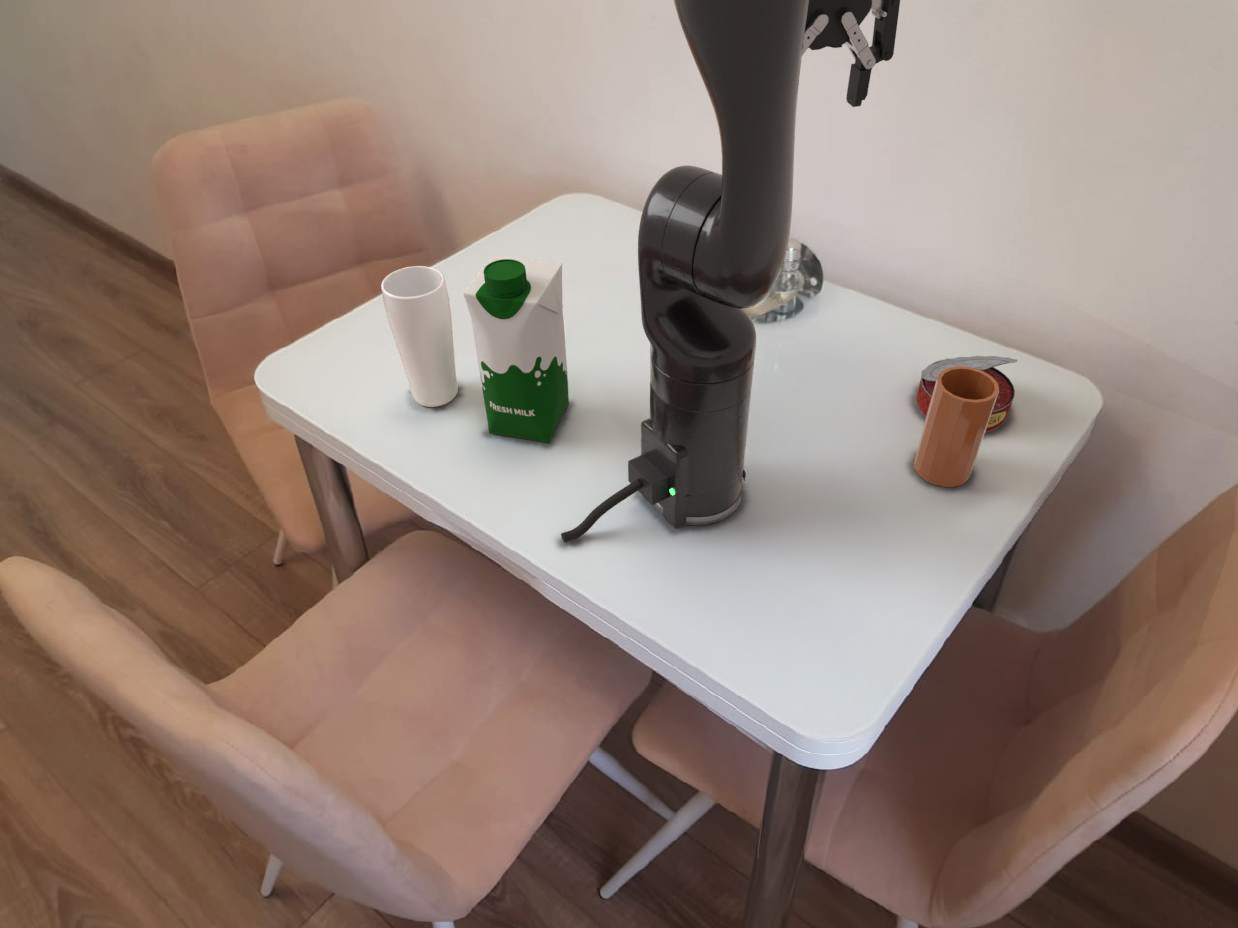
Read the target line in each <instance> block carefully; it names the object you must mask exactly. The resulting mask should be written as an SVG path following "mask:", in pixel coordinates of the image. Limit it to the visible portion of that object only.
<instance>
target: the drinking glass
mask: <svg viewBox="0 0 1238 928" xmlns="http://www.w3.org/2000/svg"><path fill="white" fill-rule="evenodd" d="M380 288H381V289H380V290H381V293H382V299H383V301H382V302H383V306H384V309H385V314H386V319H387V321H388V325H389V328H390V331H391V334H392V337H393V341H394V343H395V346H396V348H397V351H398V354H399V357H400V361H401V363H402V364H401V365H402V366H403V367H402V368H403V370H404V373H405V375H406V379H407V382H408V385H409V386H408V387H409V391H410V394H411V397H412V399H413V401H414V402H416V404H418V405H420V406H422V407H428V408H434V407H441V406H444V405H447V404H449V403H450V402H452V401H453V400H454V399H455V398H456V396H457V394H458V391H459V385H458V379H457V370H456V360H455V359H456V358H455V347H454V346H455V345H454V332H453V331H454V330H453V319H452V309H451V302H450V295H449V291H448V287H447V283H446V278H445V275H444V274H443V273H442V272H441V271H440V270H439V269H437V268H434V267H431V266H425V265H413V266H412V265H411V266H407V267H402V268H399V269H396V270H394V271H392V272H390V273H389V274H387V275H386V276H385V277H384V278H383V280H382V282H381V284H380Z"/></svg>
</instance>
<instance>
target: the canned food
mask: <svg viewBox="0 0 1238 928" xmlns="http://www.w3.org/2000/svg"><path fill="white" fill-rule="evenodd" d="M1017 362H1018V358H1017V359H1016V358H1011V357H1008V356H1007V357H1004V356H999V355H998V356H997V355H972V356H958V357H954V358H946V359H941V360H937V361H934V362H932V363H931V364H929V365H927V366H926V367H925V368H924V369H922V370H921V375H920V381H919V385H918V389H917V392H916V396H915V403H916V406H917V409H918V411H919V412H920V413H921V415H922V416H923V417H924V418H926V416H927V412H928V409H929V405H930V402H931V398H932V394H933V391H934V387H935V384H936V380H937V377H938V375H939V374H940V372H941V371H943V370H945V369H947V368H950V367H958V366H963V367H971V368H975V369H978V370H981V371H984V372H985V373H987V374H989V375H990V376H992V377H993V378H994V379H995V381H996V382H997V383H998V386H999V393H998V396H997V399H996V402H995V405H994V408H993V411H992V414H991V417H990V420H989V422H988V425H987V428H986V431H985V434H986V433H990V432H993V431H995V430H997V429H999V428H1000V427H1002V426H1003V425H1004V424H1005V422H1006V420H1007V419H1008V415H1009V412H1010V409H1011V406H1012V404H1013V401H1014V399H1015V395H1016V390H1015V387H1014V384H1013V382H1012V380H1011V379H1010V378H1009V377H1008V376H1007V375H1006V374H1004V372H1002V371H1000V370H999V369H998V368H996V367H999V366H1003V365H1008V364H1014V363H1017Z"/></svg>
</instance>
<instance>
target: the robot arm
mask: <svg viewBox="0 0 1238 928" xmlns="http://www.w3.org/2000/svg"><path fill="white" fill-rule="evenodd" d="M673 3H674V7H675V11H676V14H677V18H678V21H679V24H680V27H681V29H682V32H683V35H684V38H685V40H686V43H687V46H688V48H689V50H690V53H691V55H692V57H693V60H694V62H695V65H696V67H697V69H698V72H699V75H700V77H701V80H702V82H703V84H704V87H705V90H706V92H707V95H708V97H709V100H710V103H711V105H712V108H713V111H714V115H715V119H716V123H717V127H718V133H719V138H720V148H721V149H720V150H721V173H718V172H715V171H712V170H709V169H706V168H703V167H700V166H695V165H689V164H686V165H679V166H676V167H673V168H671V169H670V170H668V171H667V172H665V173H664V174H662V175H661V176H660V177H659V179H658V180H657V181H656V182H655V183H654V185H653V187H652V188H651V190H650V191H649V194H648V196H647V198H646V200H645V202H644V206H643V209H642V212H641V216H640V221H639V227H638V228H639V229H638V235H637V267H638V280H639V281H638V283H639V295H640V296H639V297H640V315H641V325H642V329H643V332H644V334H645V336H646V338H647V340H648V342H649V355H650V356H649V359H650V360H649V361H650V362H649V364H650V365H649V368H650V369H649V373H650V374H649V418H647V419H644V420H642V421H641V423H640V455H638V456H636V457H633V458H631V459H629V460H627V474H628V475H627V478H628V479H627V480H628V482H629V484H627V485H626V486H624V487H623V488H621V489H619V490H618V491H616V492H615V493H614V494H612V495H611V496H609V497H607V498H606V499H605V500H604V501H603V502H601V503H599V504H598V505H597V506H596V507H595V508H594V509H592V510H591V512H590V513H589V514H588V515H587V516H586V517H585V518H584V520H582V522H581V523H580V524H578V525H577V526H576V527H574V528H573V529H570V530H567V531H564V532H561V533H560V537H561V540H562V542H563V543H568V542H572V541H574V540H576V539H579V538H580V537H582V536H583V535H584V534H586V533H587V532H588V531H589V530H590V529H591V528H592V527H593V526H594V525H595V523H596V522H597V521H598V520H599V519H600V518H601V517H602V516H604V515H605V514H606V513H608V511H610V510H611V509H613V508H614V507H615V506H617V505H618V504H620V503H621V502H623V501H624V500H626V499H627V498H629V497H630V496H632V495H633V494H635V493H637V492H638V493H639V494H641V496H642V497H643V498H644V499H645V500H646V501H647V502H648V503H649V504H650V505H651V506H653V508H654V509H655V510H656V511H657V512H658V513H659V514H660V515H661V516H663V517H664V518H665V520H666V521H667V522H668V523H669V524H670V525H671V526H672V527H673V528H675V529H678V528H681V527H683V526H686V525H687V526H688V525H689V526H707V525H711V524H715V523H719V522H721V521H723V520H725V519H727V518H729V516H732V515H733V513H735V511H736V510H737V509H738V508H739V507H740V504H741V501H742V496H743V480H744V482H746V477H747V473H746V471H745V469H744V466H745V456H746V447H747V438H748V437H747V436H748V426H749V417H750V409H751V398H752V389H753V388H752V387H753V381H754V380H753V378H754V368H755V360H756V359H755V358H756V350H757V349H756V348H757V331H756V326H755V325H754V322H753V320H752V319H751V318H750V316H749V315H748V314H747V313H746V311H745V310H744V309H749V308H753V307H755V306H757V305H758V304H759V303H761V302H762V301H763V300H764V299H765V298H766V297H767V296H768V295H769V294H770V292H771V291H772V290H773V288H774V286H775V285H776V282H777V280H778V278H779V276H780V275H781V272H782V268H783V267H784V262H785V260H786V255H787V252H788V248H789V247H788V246H789V242H790V234H791V225H792V216H793V215H792V214H793V200H794V199H793V198H794V197H793V196H794V171H795V169H794V168H795V143H796V141H795V140H796V121H797V107H798V94H799V86H800V85H799V83H800V75H801V67H802V66H801V65H802V58H803V55H804V54H805V52H807V50H808V49H810V50H811V51H818V50H819V51H820V50H822V49H824V48H828V47H829V48H832V49H837V48H838V49H839V48H843V45H844V44H845V46H846V47H847V48H848V51H849V52H850V53H851V55H852V57H853V59H854V63H851V64H850V69H849V70H850V71H849V77H848V84H847V91H846V103H848V104H849V105H850V106H851V107H852V108H856V107H857V108H858V107H861V106H862V102H863V101H865V100H866V98H867V96H868V95H869V94H868V93H869V87H870V81H871V74H872V70H873V68H874V67H875V65H876V64H879V63H880V62H882V61H885V62H888V61H890V60H892V58H893V57H894V54H895V45H896V38H897V31H898V30H897V29H898V20H899V13H900V5H901V0H673ZM870 12H871V14H872V16H873V17H874V24H873V33H872V42H871V46H869V42H868V40H867V39H866V36H865V35H864V33H863V31H862V29H861V27H860V25H861V24H862V23H863V21H865V19H866V18H867V16H868V15H869V13H870Z"/></svg>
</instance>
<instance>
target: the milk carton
mask: <svg viewBox="0 0 1238 928" xmlns="http://www.w3.org/2000/svg"><path fill="white" fill-rule="evenodd" d="M463 297H464V300H465V303H466V306H467V309H468V310H467V311H468V313H469V316H470V321H471V325H472V332H473V338H474V343H475V344H474V345H475V351H476V358H477V364H478V370H479V371H478V372H479V376H480V382H481V383H480V384H481V390H482V396H483V397H482V398H483V403H484V408H485V414H486V419H487V426H488V433H489V434H493V435H499V436H505V437H508V438H509V437H510V438H516V439H522V440H527V441H534V442H540V443H546V444H549V443H550V442H551V440H552V438H553V436H554V434H555V432H556V430H557V428H558V426H559V424H560V422H561V420H562V418H563V416H564V415H565V412H566V410H567V409H568V407H569V406H570V401H569V380H568V379H569V378H568V361H567V348H566V336H565V335H566V334H565V322H564V321H565V320H564V310H563V308H564V304H563V263H560V262H554V261H553V262H552V261H544V260H537V259H530V258H529V259H527V258H520V257H513V256H506V255H505V256H504V255H496V254H493V255H492V256H491V257H490V258H489V260H488V261H487V262H486V263H485V265H483V266H482V267H481V268H480V269H479V270H478V273H477V274H476V276H475V277H474V278H473V280H472V281H471V282H470V284H469V285H468V286H467V288H466V289H465V291H464V292H463Z"/></svg>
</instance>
